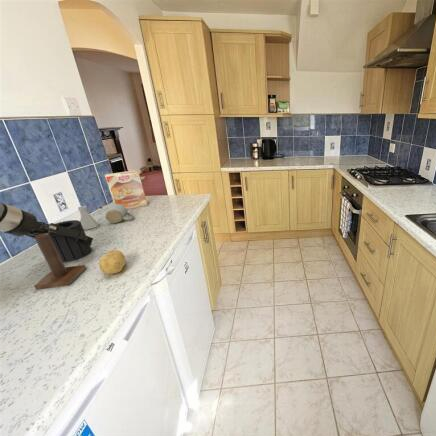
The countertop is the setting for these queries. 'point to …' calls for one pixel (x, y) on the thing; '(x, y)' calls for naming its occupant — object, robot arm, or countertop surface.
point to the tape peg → (55, 265)
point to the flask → (87, 219)
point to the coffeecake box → (126, 189)
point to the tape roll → (70, 243)
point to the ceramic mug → (118, 213)
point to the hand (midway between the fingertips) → (77, 241)
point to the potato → (112, 262)
